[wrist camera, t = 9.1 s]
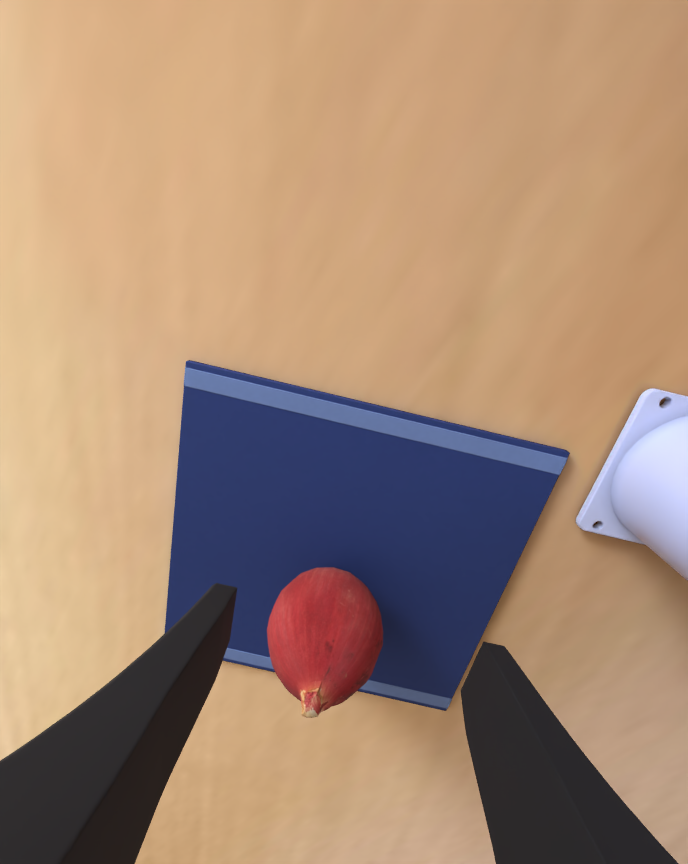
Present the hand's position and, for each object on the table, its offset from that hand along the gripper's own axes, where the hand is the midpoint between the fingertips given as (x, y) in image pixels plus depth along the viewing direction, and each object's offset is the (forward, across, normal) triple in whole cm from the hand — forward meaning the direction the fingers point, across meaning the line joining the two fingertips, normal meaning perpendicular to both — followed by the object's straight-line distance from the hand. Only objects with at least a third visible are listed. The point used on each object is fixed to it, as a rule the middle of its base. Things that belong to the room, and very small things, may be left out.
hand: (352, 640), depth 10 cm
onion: (+10, 0, +7) cm, 12 cm away
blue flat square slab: (+10, 0, +6) cm, 12 cm away
